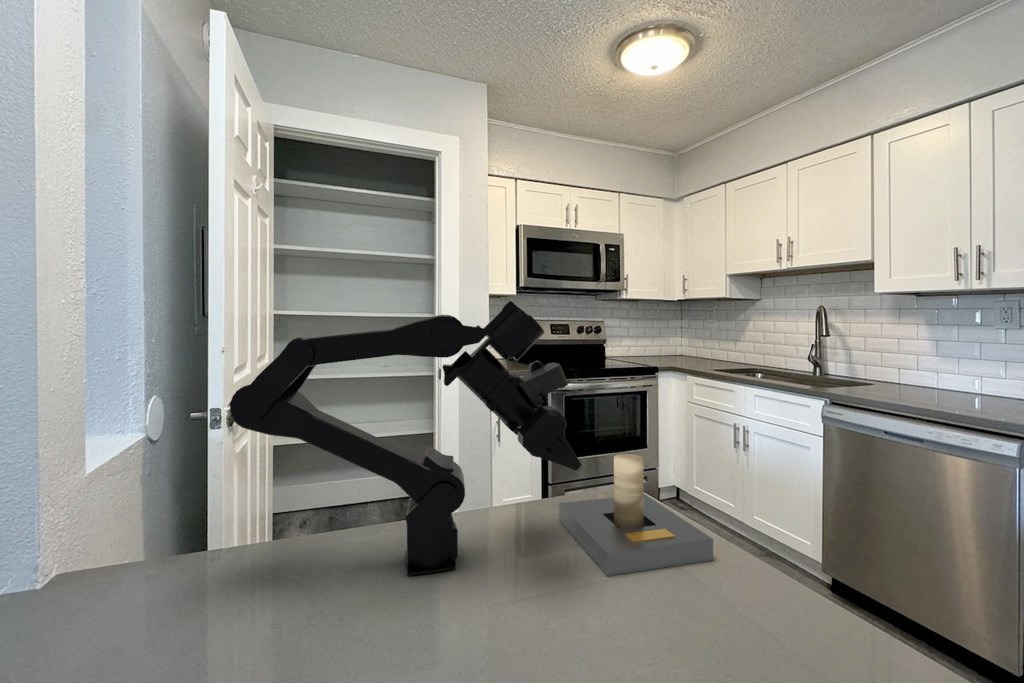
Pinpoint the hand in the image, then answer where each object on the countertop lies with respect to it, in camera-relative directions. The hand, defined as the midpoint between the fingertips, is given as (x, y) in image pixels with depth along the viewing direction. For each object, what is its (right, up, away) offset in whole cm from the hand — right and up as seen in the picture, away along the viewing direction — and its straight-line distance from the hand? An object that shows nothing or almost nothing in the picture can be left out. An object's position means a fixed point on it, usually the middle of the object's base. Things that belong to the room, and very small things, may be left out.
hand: (568, 458), depth 67 cm
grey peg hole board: (+10, -13, +3) cm, 17 cm away
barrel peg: (+10, -13, +3) cm, 17 cm away
